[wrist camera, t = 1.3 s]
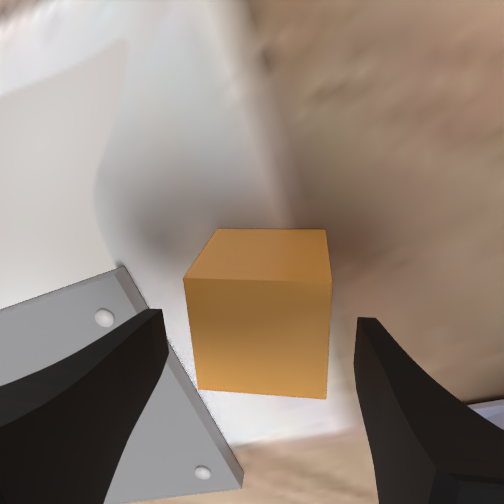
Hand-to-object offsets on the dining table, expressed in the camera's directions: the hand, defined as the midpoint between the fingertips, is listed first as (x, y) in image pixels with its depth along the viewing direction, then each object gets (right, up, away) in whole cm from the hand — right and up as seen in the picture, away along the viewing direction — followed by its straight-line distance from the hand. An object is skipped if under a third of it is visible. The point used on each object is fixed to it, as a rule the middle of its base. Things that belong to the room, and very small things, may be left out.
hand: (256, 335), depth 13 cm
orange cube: (+1, +2, +4) cm, 5 cm away
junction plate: (-9, -6, +9) cm, 15 cm away
